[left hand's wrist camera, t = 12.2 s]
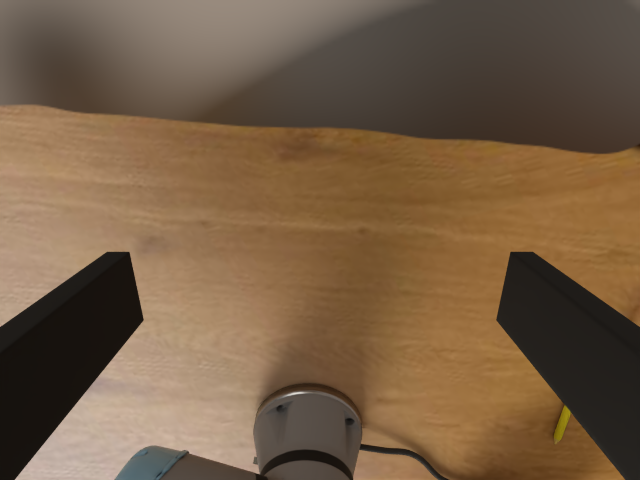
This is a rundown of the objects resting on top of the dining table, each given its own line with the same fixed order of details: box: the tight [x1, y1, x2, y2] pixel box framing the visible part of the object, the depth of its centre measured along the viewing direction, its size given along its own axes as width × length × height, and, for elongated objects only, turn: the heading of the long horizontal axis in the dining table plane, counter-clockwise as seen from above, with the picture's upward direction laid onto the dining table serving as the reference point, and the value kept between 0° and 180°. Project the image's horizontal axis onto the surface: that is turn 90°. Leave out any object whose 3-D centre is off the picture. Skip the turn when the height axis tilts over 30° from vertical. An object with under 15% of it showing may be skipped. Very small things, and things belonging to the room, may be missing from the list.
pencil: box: [553, 405, 571, 444], centre depth 49 cm, size 16×1×1 cm, turn 178°
